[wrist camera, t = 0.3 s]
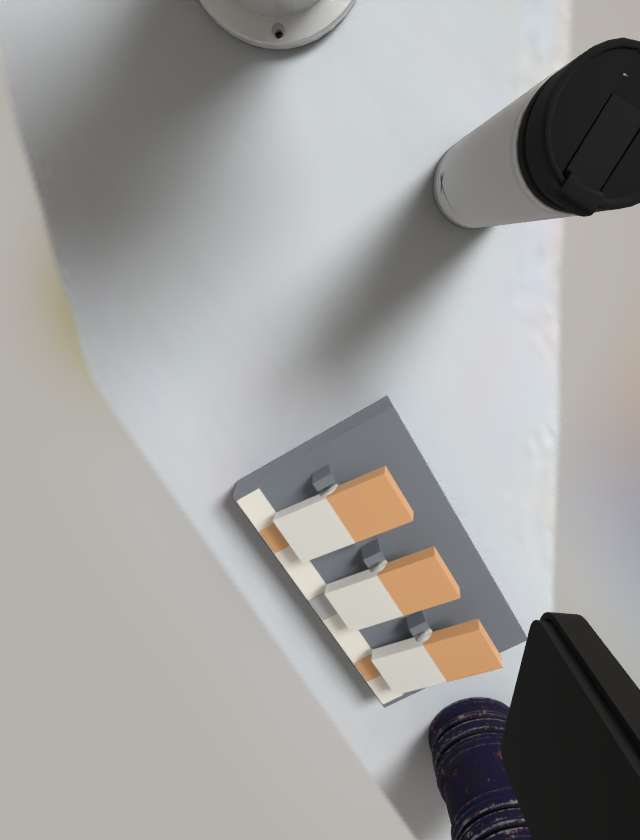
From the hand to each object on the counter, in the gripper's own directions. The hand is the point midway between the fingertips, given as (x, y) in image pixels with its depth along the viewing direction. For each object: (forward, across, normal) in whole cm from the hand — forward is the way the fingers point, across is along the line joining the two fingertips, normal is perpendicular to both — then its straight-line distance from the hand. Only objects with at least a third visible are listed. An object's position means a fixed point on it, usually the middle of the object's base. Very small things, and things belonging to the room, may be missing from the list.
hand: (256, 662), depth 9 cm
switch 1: (+31, -5, +12) cm, 33 cm away
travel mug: (+35, -12, -13) cm, 39 cm away
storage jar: (+36, -22, +39) cm, 58 cm away
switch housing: (+36, -9, +18) cm, 41 cm away
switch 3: (+31, -14, +25) cm, 42 cm away
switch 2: (+31, -9, +18) cm, 37 cm away
